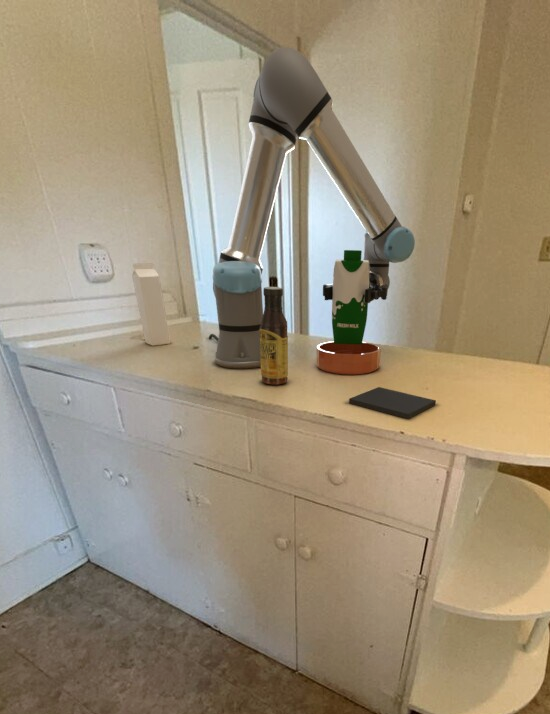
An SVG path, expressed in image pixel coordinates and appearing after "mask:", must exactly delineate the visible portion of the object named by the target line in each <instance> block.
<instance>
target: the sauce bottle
mask: <svg viewBox="0 0 550 714" xmlns="http://www.w3.org/2000/svg"><path fill="white" fill-rule="evenodd" d="M262 290H263V291H262V295H263V296H264V307H263V317H262V321H261V325H260V357H261V367H260V375H261V381H262V383H264V384H266V385H271V386H277V385H283V384H286V383H287V382H288V374H289V336H288V321H287V319H286V317H285V315H284V311H283V295H284V290H283V287H280V286H264V287H263V289H262Z"/></svg>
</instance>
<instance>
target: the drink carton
mask: <svg viewBox="0 0 550 714" xmlns="http://www.w3.org/2000/svg"><path fill="white" fill-rule="evenodd" d="M362 253H363V252H362V250H355V249H344V250H343V259H336V260H335V261H334V267H333V274H332V276H333V279H332V284H333V297H332V300H331V301H332V302H331V328H332V336H333V341H334V344H357V345H362V342H364V335H365V331H366V326H367V320H368V307H369V303H365V289H368V288H369V272H370V267H369V264H368V262H369V261H368V260H364V259H362Z"/></svg>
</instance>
